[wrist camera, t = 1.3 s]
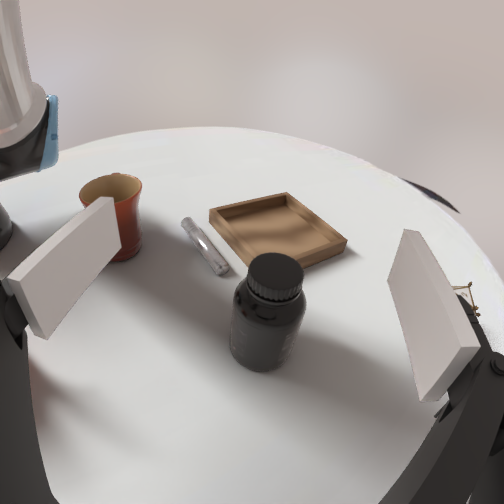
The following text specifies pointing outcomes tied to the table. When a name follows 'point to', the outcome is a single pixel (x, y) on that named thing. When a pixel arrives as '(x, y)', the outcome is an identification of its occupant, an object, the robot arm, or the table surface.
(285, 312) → the supplement bottle
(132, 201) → the mug
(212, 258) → the pin
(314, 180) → the table surface
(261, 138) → the table surface
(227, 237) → the tray
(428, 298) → the robot arm
